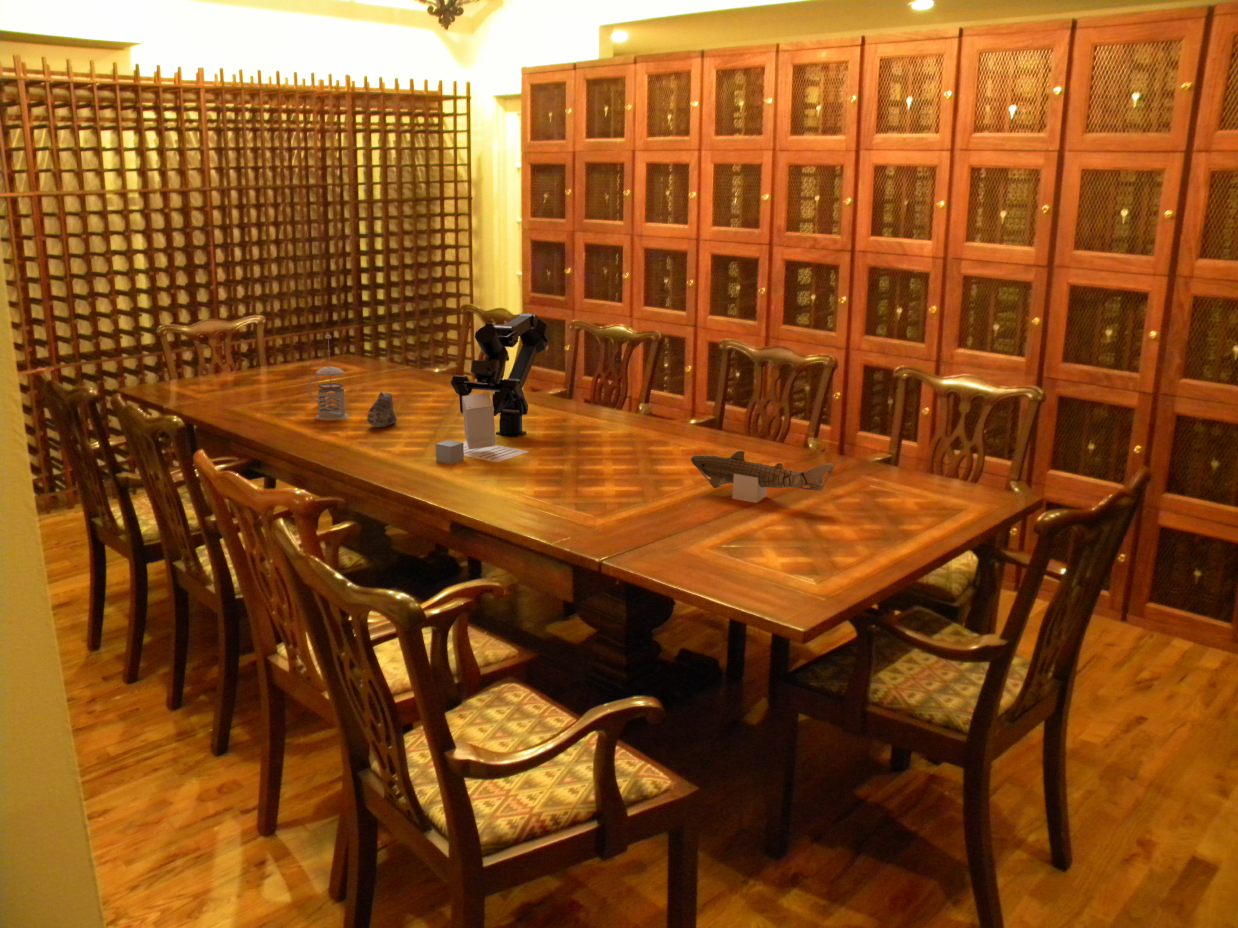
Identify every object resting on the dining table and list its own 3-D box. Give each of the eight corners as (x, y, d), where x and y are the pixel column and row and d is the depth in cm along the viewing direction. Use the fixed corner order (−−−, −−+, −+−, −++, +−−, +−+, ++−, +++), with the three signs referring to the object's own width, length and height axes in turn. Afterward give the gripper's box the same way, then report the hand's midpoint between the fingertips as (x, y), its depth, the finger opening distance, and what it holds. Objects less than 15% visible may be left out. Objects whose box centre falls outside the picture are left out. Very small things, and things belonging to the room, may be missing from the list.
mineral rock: (373, 432, 304) (372, 398, 301) (350, 426, 311) (348, 392, 308) (408, 425, 314) (407, 392, 311) (385, 419, 320) (384, 386, 318)
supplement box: (496, 446, 284) (493, 406, 276) (468, 450, 282) (465, 410, 275) (491, 431, 289) (488, 391, 282) (464, 435, 288) (461, 395, 280)
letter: (469, 440, 297) (469, 439, 297) (529, 452, 286) (529, 451, 286) (435, 450, 286) (435, 449, 286) (496, 463, 275) (496, 462, 275)
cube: (449, 458, 279) (448, 440, 277) (463, 461, 276) (463, 442, 275) (436, 462, 275) (435, 443, 273) (450, 465, 272) (450, 446, 271)
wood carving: (823, 516, 237) (827, 468, 234) (682, 491, 254) (684, 446, 251) (836, 506, 245) (840, 459, 242) (698, 482, 261) (700, 438, 258)
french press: (343, 420, 317) (340, 337, 310) (305, 419, 317) (300, 336, 311) (352, 413, 326) (349, 332, 320) (314, 412, 327) (310, 331, 320)
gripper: (452, 345, 284) (435, 394, 277) (517, 350, 279) (501, 400, 272) (465, 369, 294) (449, 417, 286) (528, 374, 288) (513, 423, 281)
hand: (477, 413), depth 281 cm, fingers closed on supplement box, 9 cm apart
